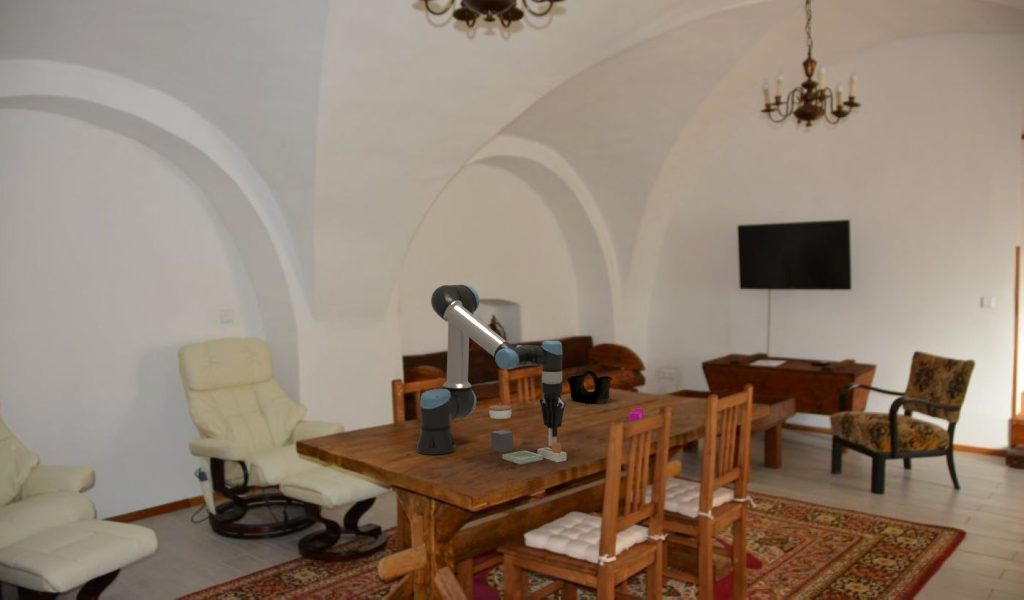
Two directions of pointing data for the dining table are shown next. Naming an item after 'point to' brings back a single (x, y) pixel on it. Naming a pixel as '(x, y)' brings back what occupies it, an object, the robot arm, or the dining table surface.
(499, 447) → the grey rectangular block
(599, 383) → the black handbag
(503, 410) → the lidded jar
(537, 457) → the tray
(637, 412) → the toy block
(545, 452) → the breaker housing
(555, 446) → the breaker switch
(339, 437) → the dining table surface
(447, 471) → the dining table surface
